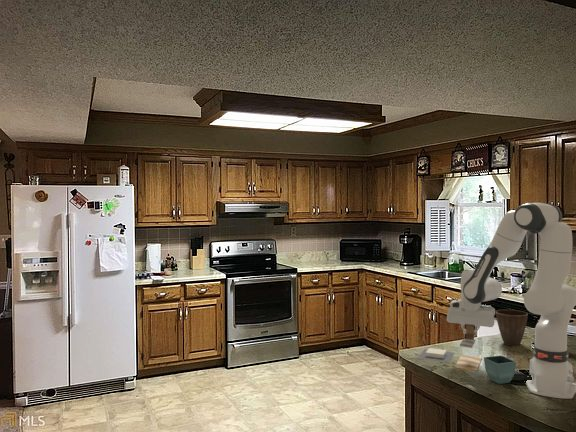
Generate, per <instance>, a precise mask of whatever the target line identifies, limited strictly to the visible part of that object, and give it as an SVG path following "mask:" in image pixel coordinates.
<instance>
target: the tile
mask: <svg viewBox="0 0 576 432" xmlns="http://www.w3.org/2000/svg"><path fill="white" fill-rule="evenodd" d="M427 349H428V350H427V351H426V357H432V358H440V359H444V358H445V356H446V355H447V352H448V351H447V349H441V348H440V349H439V348H432V347H429V348H427Z"/></svg>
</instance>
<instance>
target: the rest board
mask: <svg viewBox="0 0 576 432" xmlns="http://www.w3.org/2000/svg"><path fill="white" fill-rule="evenodd" d="M482 360H483V357H482V356H474V355H468V354H467V355H465V354H461V355H460V357H458V360H457V362H456V364H455V366H454V370H458V371H459V370H461V371H467V372H474V373H477V372H478V369H479V366H480V364H481V361H482Z"/></svg>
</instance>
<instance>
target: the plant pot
mask: <svg viewBox="0 0 576 432" xmlns="http://www.w3.org/2000/svg"><path fill="white" fill-rule="evenodd" d="M528 315H529V314H528V312H526V311H522V310H515V309H498V310H495V316H496V322H497V326H498V330H499V333H500V336H501V339H502V342H503V344H505V345H506V346H507V345H508V346H512V347H513V346H517V347H518V346H520V345H521V343H522V340H523V337H524V335H525V331H526V326H527V322H528V317H529V316H528Z"/></svg>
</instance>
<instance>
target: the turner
mask: <svg viewBox="0 0 576 432" xmlns="http://www.w3.org/2000/svg"><path fill="white" fill-rule="evenodd" d="M465 329H466V334H465V338H463V339H462V340H461V342H460V344H459V347H463V348H469V349H470V348H471V349H472V348H473V347H474V345H475V343H476V339H475V335H473V331H474V330H475V325H467V324H465Z"/></svg>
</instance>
